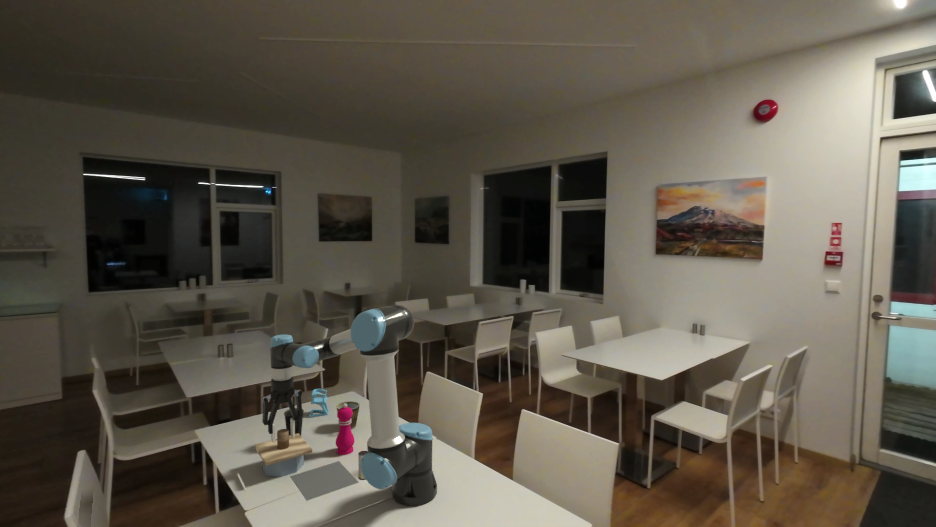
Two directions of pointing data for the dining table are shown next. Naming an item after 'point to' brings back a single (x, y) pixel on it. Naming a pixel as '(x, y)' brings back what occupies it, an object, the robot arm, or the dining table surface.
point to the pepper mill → (345, 431)
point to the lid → (282, 448)
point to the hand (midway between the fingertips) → (283, 438)
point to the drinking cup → (289, 415)
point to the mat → (323, 480)
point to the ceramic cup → (355, 409)
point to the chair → (319, 402)
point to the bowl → (284, 467)
